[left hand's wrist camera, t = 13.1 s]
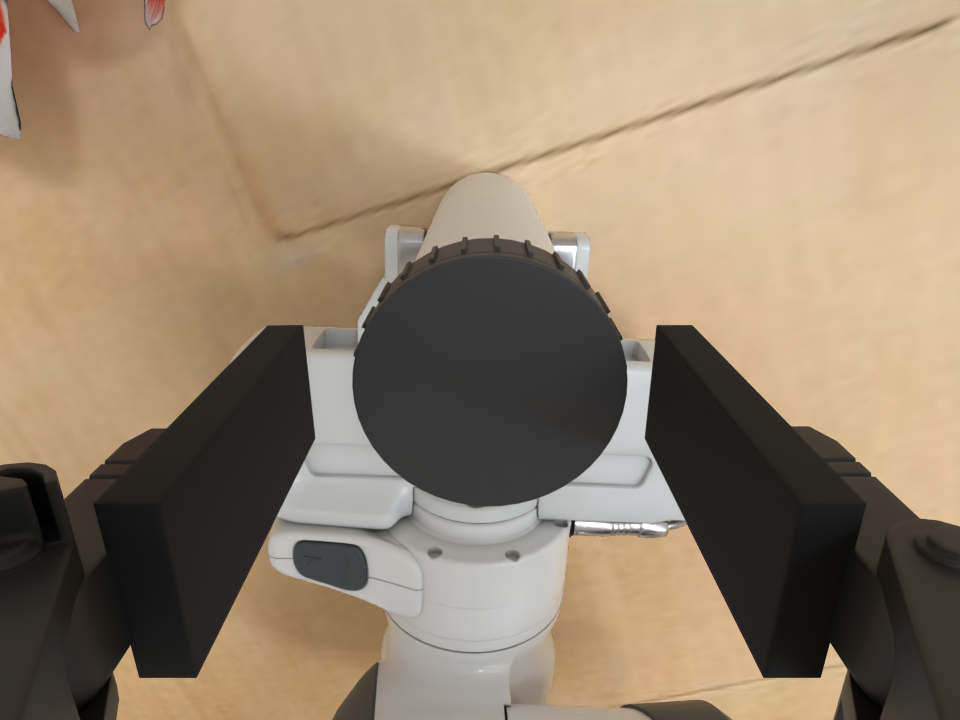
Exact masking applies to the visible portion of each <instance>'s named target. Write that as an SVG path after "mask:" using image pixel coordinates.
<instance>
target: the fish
mask: <svg viewBox="0 0 960 720" xmlns="http://www.w3.org/2000/svg"><path fill="white" fill-rule="evenodd" d="M46 1H47V2H48V3H49V4H50V5H51V6H52V7H53V8H54V9H55V10H56V11H57V12H58V13H59V14H60V16H61V17H62V18H63V19H64V20H65V21H66V22H67V24H68V25H69V26H70V27H71V28H72V29H73V31H74V32H77V33H79V32H80V30H79V26H78V22H77V18H76V14H75V9H74V6H73V3H72V0H46ZM144 1H145V16H144V17H145V23H146V26H147V27H148V28H149V30H150V28H151V27H152V26H154V25H156V24H157V23H158V22H159V21H160V20H161V19H162V17H163V13H164V1H165V0H144ZM20 132H21V122H20V117H19V113H18V108H17V104H16V99H15V95H14V90H13V86H12V69H11V51H10V36H9V22H8V8H7V0H0V135H4V136H8V137H12V138H16V139H20Z"/></svg>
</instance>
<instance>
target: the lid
mask: <svg viewBox="0 0 960 720" xmlns="http://www.w3.org/2000/svg"><path fill="white" fill-rule="evenodd" d="M377 301H378V302H379V303H378V305H377V306H376V307H374V306H372V308H371V310H370V312H369V313H368V315H367V317H366V319H365V321H364V323H363V325H362V328H364V329H365V330H364V332H363V334H362V336H361V338H360V341H359V343H358V345H357V347H356V349H355V351H354V355H353V356H354V357H355V359H354V365H353V376H352V389H353V397H354V404H355V408H356V412H357V415H358V419H359V421H360V424H361V426H362V428H363V431H364V433H365V435H366V437H367V438H368V440H369V442H370V443H371V445H372V447H373V448H374V450H375V451H376V452H377V453H378V455H379V456H380V457H381V459H382V460H383V461H384V462H385V463H386V464H387V465H388V466H389V467H390V468H391V469H392V470H393V471H394V472H395V473H397V474H398V475H399V476H401V477H402V478H403V479H404V480H406V481H407V482H409V483H410V484H412V485H414V486H415V487H417V488H419V489H420V490H422V491H424V492H427V493H429V494H431V495H433V496H436V497H438V498H442V499H445V500H448V501H451V502H455V503H460V504H465V505H473V506H506V505H513V504H519V503H523V502H527V501H531V500H535V499H537V498H540V497H543V496H546V495H548V494H550V493H552V492H554V491H556V490H558V489H560V488H562V487H564V486H566V485H567V484H569V483H570V482H572V481H573V480H575V479H576V478H578V477H579V476H580V475H581V474H582V473H583V472H585V471H586V470H587V469H588V468H589V467H590V466H591V465H592V464H593V463H594V462H595V461H596V460H597V459H598V458H599V456H600V455H601V454H602V453H603V451H604V450H605V448H606V447H607V445H608V444H609V443H610V441H611V439H612V437H613V435H614V433H615V431H616V429H617V427H618V425H619V422H620V419H621V417H622V414H623V411H624V406H625V401H626V396H627V381H628V378H627V364H626V359H625V355H624V351H623V346H622V344H621V340H623V339H622V336H621V334H620V332H619V331H618V329H617V327H616V326H615V324H614V322H613V320H612V319H611V317H610V318H609V317H608V315H607V314H608V313H610V310H609V308H608V307H607V305H606V303H605V302H604V300H603V298H602V297H601V295H600V293H599V292H597V293H594V291H593V290H592V289H591V286H590V284H589V283H588V281H587V279H586V277H585V276H584V274H583V272H582V271H581V270H580V269H579V270H578V271H577V272H576V271H575V270H574V269H573V268H572V267H571V266H569V265H568V264H567V263H565V262H564V261H563V260H561V258H560V256H559V254H558V253H557V252H555V251H554V252H553V254H551V253H549V252H547V251H546V250H543V249H541V248H538V247H536V246H533V245H531V242H530V241H529V240H525V242H524V243H523V242H519V241H515V240H509V239H499V235H494V238H478V239H471V240H468V238H467V237H462V241H459V242H456V243H453V244H449V245H446V246H443V247H441V248H438V246H437V245H436V246H434V247H432V250H431V252H430V253H428V254H426V255H424V256H423V257H421V258H419V259H418V260H416V261H415V262H413V263H412V262H411V261H409V262H407V263H406V265H405V267H404V270H403V271H402V272H401V273H400V274H399V275H398V276H397V278H396V279H395V280H394V281H393V282H392V283H390V282H387V283H386V285H385V287H384V288H383V290H382V292H381V294H380V296H379V298H378V300H377Z"/></svg>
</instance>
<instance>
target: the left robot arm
mask: <svg viewBox="0 0 960 720" xmlns="http://www.w3.org/2000/svg"><path fill="white" fill-rule="evenodd" d="M314 441H315V429H314V420H313V411H312V402H311V392H310V383H309V374H308V364H307V355H306V346H305V337H304V327H303V325H268V326H267V327H266V328H265V329H264V330H263V331H262V332H261V333H260V334H259V335H258V336H257V337H256V338H255V339H254V340H253V341H252V342H251V343H250V344H249V345H248V346H247V347H246V348H245V349H244V350H243V351H242V352H241V353H240V354H239V355H238V356H237V357H236V358H235V359H234V360H233V361H232V362H231V363H230V364H229V365H228V366H227V367H226V369H225V370H224V371H223V372H222V373H221V374H220V375H219V376H218V377H217V378H216V379H215V380H214V381H213V382H212V383H211V384H210V385H209V386H208V387H207V388H206V389H205V390H204V391H203V392H202V393H201V394H200V395H199V396H198V397H197V398H196V399H195V400H194V401H193V402H192V403H191V404H190V405H189V406H188V407H187V408H186V409H185V410H184V412H183V413H182V414H181V415H180V416H179V417H178V418H177V419H176V420H175V421H174V422H173V423H172V424H171V425H170V426H169V427H168V428H167V429H150V430H148V431H146V432H144V433H142V434H140V435H139V436H137V437H135V438H133V439H131V440H129V441H127V442H125V443H124V444H123V445H121V446H120V447H119V448H118V449H117V450H116V451H115V452H114V453H113V454H112V455H111V456H110V457H109V458H108V459H107V460H106V461H105V464H101V465H100V466H99V467H98V468H97V469H96V470H95V471H94V472H93V473H92V474H91V475H90V478H89V479H85V480H84V481H83V482H82V483H81V484H80V485H79V486H78V487H77V488H76V489H75V490H74V491H73V492H72V493H70V494H69V495H68V496H67V497H66V498H65V499H64V498H63V494H62V491H61V487H60V484H59V480H58V477H57V473H56V471H55V470H53V469H52V468H50V467H49V466H47V465H44V464H36V463H16V464H5V465H0V720H116V717H117V710H118V703H119V696H118V689H117V684H116V681H115V677H114V674H113V671H114V669H115V668H116V666H117V665H118V663H119V662H120V660H121V659H122V657H123V656H124V654H125V653H126V651H127V649H128V648H129V646H130V645H131V648H132V652H133V656H134V659H135V663H136V667H137V671H138V674H139V678H197V676H198V674H199V672H200V670H201V668H202V666H203V664H204V662H205V660H206V658H207V656H208V654H209V652H210V650H211V647H212V645H213V643H214V641H215V639H216V637H217V635H218V633H219V631H220V629H221V627H222V625H223V623H224V621H225V619H226V617H227V615H228V613H229V611H230V609H231V607H232V605H233V603H234V601H235V599H236V597H237V595H238V593H239V591H240V589H241V587H242V585H243V583H244V581H245V579H246V577H247V575H248V573H249V571H250V569H251V567H252V565H253V563H254V561H255V559H256V557H257V555H258V553H259V551H260V549H261V547H262V545H263V543H264V541H265V539H266V537H267V535H268V533H269V531H270V529H271V527H272V525H273V523H274V521H275V519H276V517H277V515H278V513H279V511H280V509H281V507H282V505H283V503H284V501H285V499H286V497H287V495H288V493H289V491H290V489H291V487H292V485H293V483H294V481H295V479H296V477H297V475H298V473H299V471H300V469H301V467H302V465H303V463H304V461H305V459H306V457H307V455H308V453H309V451H310V449H311V447H312V445H313V443H314ZM645 441H646V443H647V445H648V447H649V449H650V451H651V453H652V455H653V457H654V459H655V461H656V463H657V465H658V467H659V469H660V471H661V473H662V475H663V477H664V479H665V481H666V483H667V485H668V487H669V489H670V491H671V493H672V495H673V497H674V499H675V501H676V503H677V505H678V507H679V509H680V511H681V513H682V515H683V517H684V519H685V521H686V523H687V525H688V527H689V529H690V531H691V533H692V535H693V537H694V539H695V541H696V543H697V545H698V547H699V549H700V551H701V553H702V555H703V557H704V559H705V561H706V563H707V565H708V567H709V569H710V571H711V573H712V575H713V577H714V579H715V581H716V583H717V585H718V587H719V589H720V591H721V593H722V595H723V597H724V599H725V601H726V603H727V605H728V607H729V609H730V611H731V613H732V615H733V617H734V619H735V621H736V623H737V625H738V627H739V629H740V631H741V633H742V635H743V637H744V639H745V641H746V643H747V645H748V647H749V650H750V652H751V654H752V656H753V658H754V660H755V662H756V664H757V666H758V668H759V670H760V672H761V674H762V676H763V678H821V674H822V671H823V667H824V663H825V659H826V656H827V652H828V648H829V644H830V643H831V644H832V646H833V648H834V649H835V651H836V652H837V654H838V655H839V657H840V658H841V660H842V661H843V663H844V664H845V666H846V667H847V669H848V670H847V674H846V677H845V681H844V684H843V688H842V691H841V695H840V698H839V702H838V705H837V709H836V712H835V716H834V719H833V720H960V527H959V526H956V525H952V524H949V523H945V522H941V521H937V520H928V519H920V518H919V517H917V516H916V515H915V514H914V513H913V512H912V511H911V510H910V509H909V508H908V507H907V506H906V505H905V504H904V503H902V502H901V501H900V500H899V499H898V498H897V497H896V496H895V495H894V494H893V493H892V492H891V491H890V490H889V489H888V488H886V487H885V486H884V485H883V484H882V483H881V482H880V481H879V480H878V479H877V478H876V477H871V473H870V472H869V471H868V470H867V469H866V468H865V467H864V466H863V465H862V464H861V463H860V462H856V461H855V458H854V457H853V456H852V455H851V454H850V453H849V452H848V451H847V450H846V449H845V448H844V447H843V446H841V445H840V444H839V443H838V442H837V441H835V440H834V439H832V438H830V437H828V436H826V435H824V434H822V433H820V432H818V431H817V430H815V429H813V428H811V427H791V426H790V425H789V424H788V423H787V422H786V421H785V420H784V419H783V418H782V417H781V416H780V415H779V414H778V413H777V412H776V410H775V409H774V408H773V407H772V406H771V405H770V404H769V403H768V402H767V401H766V400H765V399H764V398H763V397H762V396H761V395H760V394H759V393H758V392H757V391H756V390H755V389H754V388H753V387H752V386H751V385H750V384H749V383H748V382H747V381H746V380H745V379H744V378H743V377H742V376H741V375H740V374H739V373H738V372H737V371H736V370H735V369H734V367H733V366H732V365H731V364H730V363H729V362H728V361H727V360H726V359H725V358H724V357H723V356H722V355H721V354H720V353H719V352H718V351H717V350H716V349H715V348H714V347H713V346H712V345H711V344H710V343H709V342H708V341H707V340H706V339H705V338H704V337H703V336H702V335H701V334H700V333H699V332H698V331H697V330H696V329H695V328H694V327H693V326H692V325H657V327H656V337H655V346H654V355H653V364H652V374H651V383H650V392H649V402H648V411H647V420H646V429H645Z"/></svg>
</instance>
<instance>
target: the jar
mask: <svg viewBox="0 0 960 720" xmlns="http://www.w3.org/2000/svg"><path fill="white" fill-rule="evenodd" d="M494 235H499V239H509V240H515V241H519V242H523V243H524V242H525V240H529V241H530V242H531V245H533V246H536V247H538V248H541V249H543V250H546V251H547V252H549V253H551V254H553V252H554V251H555V252H556V250H555V248H554V246H553V244H552V242H551V240H550V238H549V236H548V234H547V231H546V229H545V227H544V225H543V223H542V221H541V219H540V217H539V215H538V213H537V211H536V209H535V207H534V205H533V202H532V200H531V199H530V197H529V195H528V194H527V193H526V191H525V190H524V189H523V188H522V187H521V186H520V185H519V184H518V183H516V182H515V181H514V180H512V179H510V178H508V177H506V176H503V175H500V174H496V173H489V172H487V173H476V174H472V175H469V176H467V177H465V178H462V179H461V180H459V181H458V182H456V183H455V184H454V185H453V186H451V187H450V189H449V190H448V191H447V192H446V193H445V195H444V196H443V198H442V200H441V202H440V204H439V206H438V209H437V211H436V213H435V216H434V218H433V220H432V223H431V225H430V227H429V230H428V232H427V234H426V237H425V239H424V241H423V244H422V246H421V248H420V250H419V253H418V255H417V257H416V260H418V259H419V258H421V257H423V256H424V255H426V254H428V253H430V252H431V250H432V247H434V246H436V245H437V246H438V248H441V247H443V246H446V245H449V244H453V243H456V242H459V241H462V237H467V238H468V240H471V239H478V238H494ZM416 260H415V261H416Z"/></svg>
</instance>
